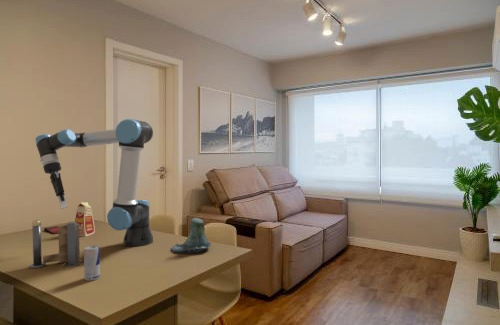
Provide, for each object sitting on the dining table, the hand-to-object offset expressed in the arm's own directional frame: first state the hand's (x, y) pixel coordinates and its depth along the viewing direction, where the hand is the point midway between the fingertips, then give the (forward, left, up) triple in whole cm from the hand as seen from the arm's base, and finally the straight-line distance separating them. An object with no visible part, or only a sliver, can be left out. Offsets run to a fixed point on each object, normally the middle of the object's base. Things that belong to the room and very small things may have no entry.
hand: (64, 207), depth 167 cm
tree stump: (-64, -1, -21) cm, 68 cm away
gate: (-11, +20, -21) cm, 31 cm away
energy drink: (-34, +38, -21) cm, 56 cm away
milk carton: (+8, -31, -21) cm, 38 cm away
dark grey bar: (-17, +22, -21) cm, 35 cm away
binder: (+26, -43, -22) cm, 54 cm away
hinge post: (-3, +25, -21) cm, 33 cm away
